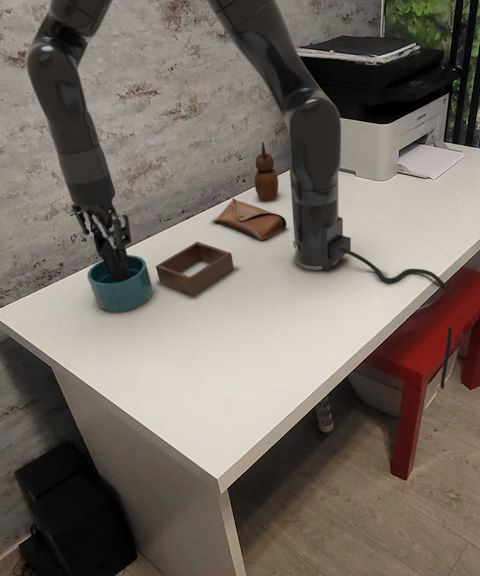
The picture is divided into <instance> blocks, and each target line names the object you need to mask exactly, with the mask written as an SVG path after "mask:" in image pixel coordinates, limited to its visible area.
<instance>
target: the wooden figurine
mask: <svg viewBox="0 0 480 576" xmlns="http://www.w3.org/2000/svg"><path fill="white" fill-rule="evenodd" d="M265 147H266V146H265V142H264V141H261V154H258V155H257V156H256V157H255V167H256V170H257V171H256V173H255V175H254V189H255V192H256V195H257V196H258V198H259V199H260V200H262V201H271V200H273V199H275V198H276V197H277V195H278V191H279V177H278V174H277V173H278V172H277V170H275V168H274V167H275V163H274V162H275V161H274V158H273V156H272V154H269V153H266V148H265Z"/></svg>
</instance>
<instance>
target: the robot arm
mask: <svg viewBox="0 0 480 576" xmlns="http://www.w3.org/2000/svg"><path fill="white" fill-rule="evenodd" d="M113 1H114V0H50V3H49V8H48V11H47V12H46V14H45V16H44V18H43V20H42V21H41V23H40V25H39V26H38V30H37V32H36V33H35V35H34V37H33V39H32V41H31V43H30V46H29V47H28V51H27V55H26V62H25V66H26V67H25V68H26V71H27V75H28V78H29V81H30V84H31V86H32V89H33V90H34V94H35V96H36V99H37V101H38V104H39V105H40V107H41V111H42V112H43V114H44V116H45V119H46V123H47V127H48V131H49V134H50V137H51V139H52V142H53V145H54V148H55V150H56V151H55V152H56V154H57V160H58V164H59V168H60V170H61V174H62V176H63V180H64V183H65V184H66V187H67V190H68V193H69V196H70V199H71V202H72V203H73V204H72V205H71V209H72V211H73V213H74V216H75V218H76V219H77V222H78V225H79V226H80V228H81V230H82V233H83V234H84V235H85V236H89V238H90V240H91V241H93V243H94V245H95V247H96V245H97V244H100V245H99V246H102V245H103V243H104V241H106V240H107V239H106V238H108V240H109V242H110V244H111V246H112V247H113V248H112V249H113V252H114V255H115V258H116V262H117V264H118V265H120V266H122V265H124V264H126V263H127V262H128V261H129V259H128V256H127V255H128V252H127V250H126V249H127V248H126V246H127V245H130V244H131V243H132V237H131V230H130V219H129V217H128V215H127V214H126V213H125V214H122V215H120V214H118V213H117V210H116V208H115V206H114V204H113V200H114V198H115V196H116V189H115V186H114V182H113V179H112V176H111V172H110V169H109V165H108V162H107V159H106V156H105V153H104V150H103V148H102V146H101V144H100V139H99V136H98V134H97V133H98V132H97V129H96V126H95V123H94V120H93V118H92V115H91V113H90V111H89V110H88V106H87V101H86V97H85V94H84V93H85V92H84V89H83V86H82V81H81V78H80V74H79V73H80V72H79V66H80V64H81V61H82V59H83V57H84V55H85V53H86V51H87V49H88V46H89V43H90V42H91V40H92V39H93V38H95V37H96V35H97V33H98V32H99V30H100V28H101V26H102V25H103V22H104V20H105V18H106V16H107V14H108V12H109V9H110V7H111V5H112V3H113ZM206 2H207V3H208V5H209V7H210V9H211V10H212V12H213V14H214V16H215V17H216V19H217V20H218V22H219V23H220V25H221V28H223V30H224V31H225V33H226V34H227V36H228V38H229V39H230V40H231V41H232V43H233V45H234V46H235V47H236V49H237V50H238V51H239V53H240V54H241V55H242V57H243V58H245V60H246V61H247V62H248V63H249V65H250V66H251V67H252V68H253V69H254V71H256V72H257V74H258V75H259V77H261V80H262V81H263V82H264V83H265V85H266V87H267V89H268V91H269V92H270V94H271V97H272V98H273V100H274V102H275V104H276V106H277V108H278V110H279V112H280V115H281V117H282V119H283V121H284V125H285V127H286V129H287V131H288V133H289V145H290V147H289V148H290V163H291V164H290V170H289V179H290V193H291V195H290V196H291V207H292V208H291V210H292V220H293V221H292V224H293V237H294V240H292V243H293V248H294V249H295V250H294V251H295V256H294V257H295V259H294V260H295V263H296V264H297V266H298V267H300V268H301V269H304V270H309V271H325V272H329V270H331V269H332V268H333V267H335V266H336V265H337V264H338V263H340V262H341V261H342V260H343V259H344V256H346V255H349V256H352V258H353V257H354V258H355V259H357V260H359V261H360V262H362V263H364V264H365V265H366V266H368V267H369V268H370V269H372V270H373V271H374V272H376V273H377V275H378V277H379V278H380V280H382V281H383V282H385V283H394V282H397V281H399V280H400V279H402V278H403V277H404V276H405V275H407V274H413V273H414V274H423V275H427V276H429V277H431V278H432V279H434V280H435V281H436V282H437V283H438V284H439V286H440V287H441V288H442V289H443V290H445V291H446V290H448V286H447V285H446V284H445V282H444V281H443V279H442V278H440V277H439V276H438V275H436V273H434V272H432V271H430V270H427V269H423V268H422V269H421V268H407V269H405V270H402V272H400V273H399V274H397V275H396V276H394V277H386V276H385V275H384V274H383V273H382V271H381V270H380V269H379V268H378V267H377V266H376V265H374V264H373V263H372V262H370V261H369V260H368V259H366V258H365V257H363V256H361V255H359V254H357V253H356V252H354V251H351V249H352V248H351V245H352V243H351V237H349V236H346V235H344V219H343V217H341V216H339V172H340V169H341V161H342V160H341V159H342V122H341V116H340V112H339V110H338V108H337V105H335V104H334V102H333V101H332V100H331V98H330V97H329V96H328V95H327V94H326V93H325V92H324V91H323V89H322V88H321V87H320V86H319V84H318V83H317V81H316V80H315V79H314V77H313V76H312V74H311V72H310V71H309V70H308V68H307V67H306V65H305V63H304V62H303V60H302V58H301V57H300V55H299V54H298V51H297V49H296V46H295V44H294V41H293V39H292V36H291V33H290V30H289V28H288V25H287V22H286V20H285V17H284V16H283V13H282V11H281V7H280V6H279V4H278V2H277V0H206ZM112 228H113V229H112ZM108 229H109V232H108V231H107V230H108ZM110 229H111V230H110ZM113 235H114V236H115V239H116V241H115V240H114V238H113ZM97 254H98V257H99V258H101V259H103V258H102V257H101V255H100V254H99V253H98V252H97ZM452 335H453V325H450V326H449V327H448V328H447V339H446V346H445V354H444V359H443V366H442V371H441V377H440V378H441V379H440V390H441V389H442V390H444V389H445V382H446V376H447V369H448V364H449V358H450V352H451V345H452Z"/></svg>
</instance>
